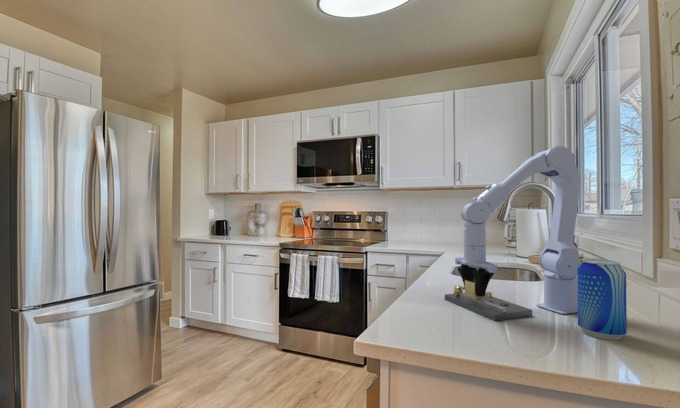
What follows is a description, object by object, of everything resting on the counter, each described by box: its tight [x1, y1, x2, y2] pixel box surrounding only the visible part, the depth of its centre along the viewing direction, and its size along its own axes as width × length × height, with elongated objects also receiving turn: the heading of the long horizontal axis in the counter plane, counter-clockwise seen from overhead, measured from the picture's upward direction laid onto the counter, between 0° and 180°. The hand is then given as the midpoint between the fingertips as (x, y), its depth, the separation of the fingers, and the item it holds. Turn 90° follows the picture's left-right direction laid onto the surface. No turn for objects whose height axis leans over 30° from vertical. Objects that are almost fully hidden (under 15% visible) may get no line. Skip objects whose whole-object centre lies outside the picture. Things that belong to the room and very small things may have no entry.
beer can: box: [577, 258, 628, 341], centre depth 73 cm, size 8×8×16 cm
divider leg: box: [464, 279, 493, 299], centre depth 93 cm, size 8×4×5 cm, turn 108°
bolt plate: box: [444, 285, 533, 322], centre depth 92 cm, size 12×20×4 cm, turn 18°
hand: (474, 293), depth 92 cm, fingers closed on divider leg, 4 cm apart
